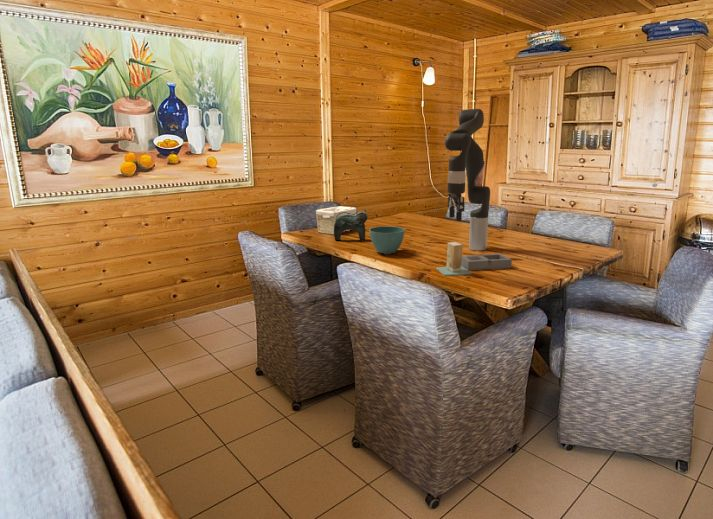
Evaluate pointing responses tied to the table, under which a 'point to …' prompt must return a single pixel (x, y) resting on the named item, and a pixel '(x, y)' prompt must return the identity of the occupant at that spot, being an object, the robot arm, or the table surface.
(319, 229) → the storage basket
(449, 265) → the skincare box
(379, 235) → the teal bowl
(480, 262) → the slotted holder
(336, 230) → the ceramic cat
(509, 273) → the table surface
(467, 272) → the tile
